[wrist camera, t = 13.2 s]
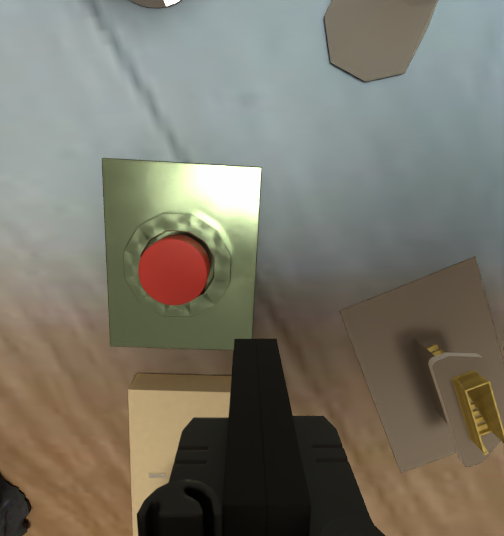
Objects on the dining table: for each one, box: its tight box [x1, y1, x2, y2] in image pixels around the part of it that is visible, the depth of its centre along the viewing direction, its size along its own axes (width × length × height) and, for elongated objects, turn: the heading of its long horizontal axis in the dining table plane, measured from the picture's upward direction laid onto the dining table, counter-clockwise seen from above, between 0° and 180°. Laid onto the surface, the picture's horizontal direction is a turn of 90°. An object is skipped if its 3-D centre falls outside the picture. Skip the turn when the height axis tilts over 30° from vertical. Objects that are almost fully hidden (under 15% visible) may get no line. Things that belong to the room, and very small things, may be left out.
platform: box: [340, 257, 504, 473], centre depth 27 cm, size 12×18×7 cm, turn 23°
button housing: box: [102, 158, 262, 350], centre depth 25 cm, size 14×11×4 cm
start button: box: [138, 235, 210, 305], centre depth 22 cm, size 4×4×2 cm
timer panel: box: [128, 373, 232, 536], centre depth 30 cm, size 16×12×3 cm
